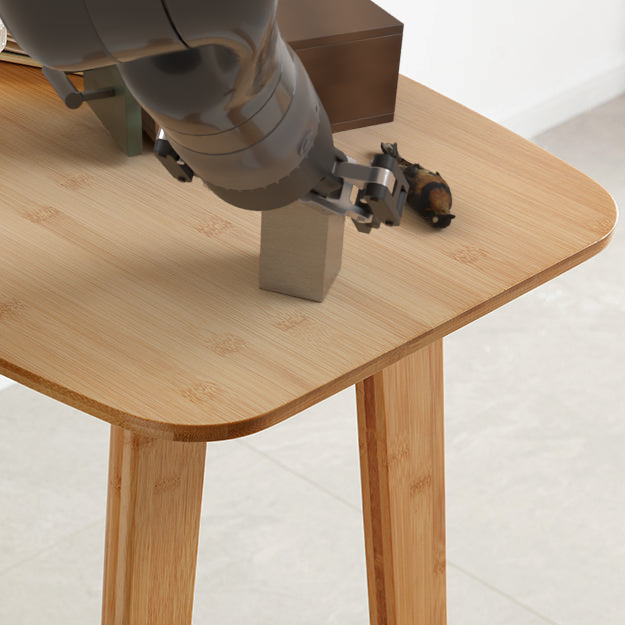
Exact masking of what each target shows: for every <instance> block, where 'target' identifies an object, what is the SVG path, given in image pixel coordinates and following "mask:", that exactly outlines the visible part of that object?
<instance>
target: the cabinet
mask: <svg viewBox="0 0 625 625" xmlns="http://www.w3.org/2000/svg"><path fill="white" fill-rule="evenodd" d="M276 22H277V24H278V26H279V28H280V30H281V32H282V34H283V36H284V38H285V40H286V42H287V43H288V44H289V46H290V47H291V48H292V49H293V50H294V52H295V53H296V54H297V55H298V57H299V59H300V60H301V62H302V64H303V65H304V67H305V69H306V71H307V73H308V76H309V78H310V80H311V82H312V84H313V86H314V88H315V90H316V93H317V95H318V97H319V99H320V101H321V103H322V105H323V107H324V109H325V112H326V114H327V116H328V119H329V122H330V126H331V130H332V134H333V133H337V132H338V133H339V132H343V131H348V130H354V129H359V128H364V127H369V126H375V125H380V124H384V123H390V122H394V120H395V113H396V104H397V94H398V85H399V77H400V76H399V75H400V66H401V57H402V47H403V37H404V28H405V23H403V22H402V21H400V20H399V19H398V18H396V17H395V16H394V15H393V14H391V13H390V12H388V11H387V10H385V9H384V8H382V7H381V6H380V5H378V4H377V3H375V2H374V1H373V0H279V3H278V8H277V14H276Z"/></svg>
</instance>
